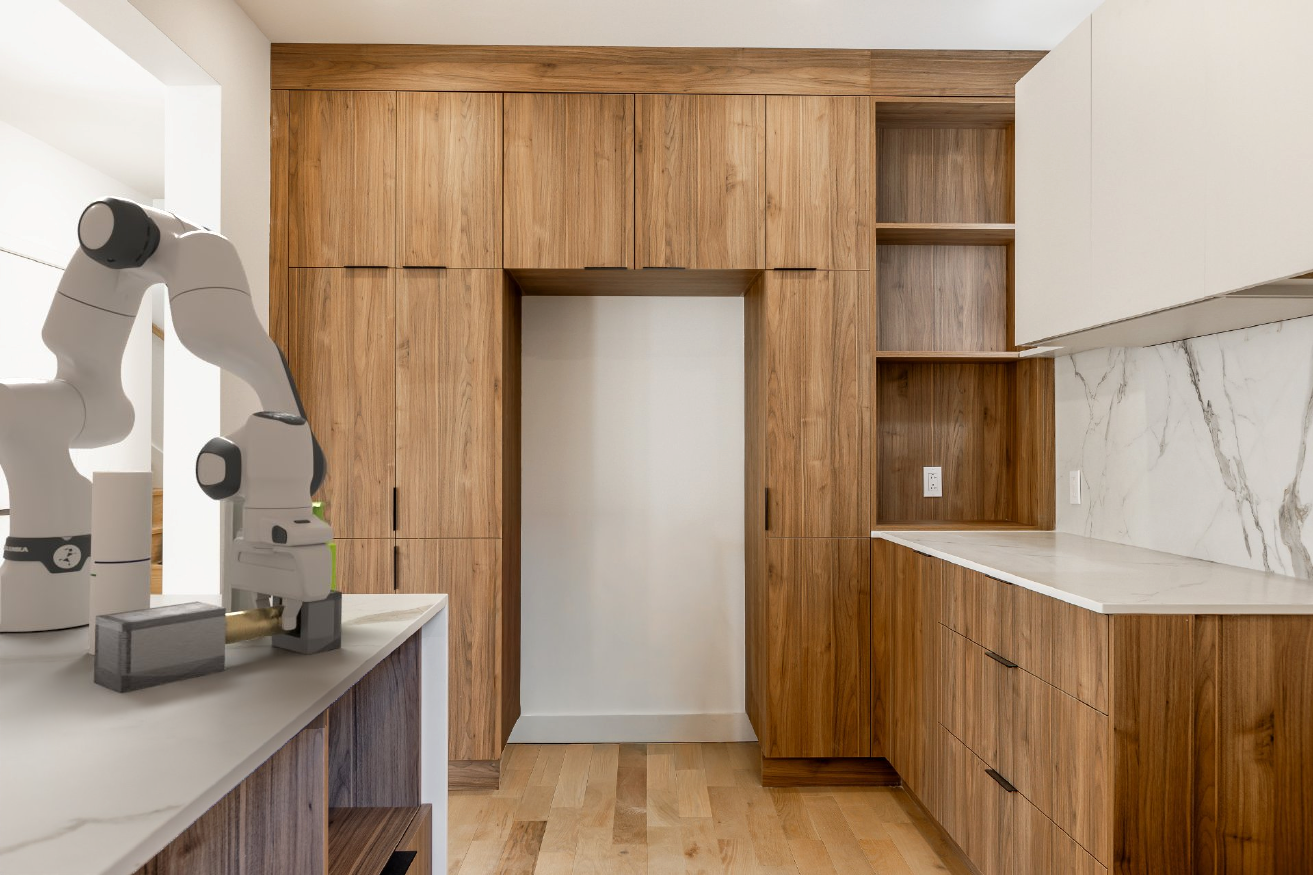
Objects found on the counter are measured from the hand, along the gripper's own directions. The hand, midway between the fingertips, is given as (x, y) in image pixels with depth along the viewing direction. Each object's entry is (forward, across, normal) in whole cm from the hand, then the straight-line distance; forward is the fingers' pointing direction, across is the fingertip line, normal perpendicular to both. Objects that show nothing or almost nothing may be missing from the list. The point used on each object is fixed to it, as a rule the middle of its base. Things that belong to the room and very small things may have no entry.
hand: (276, 626), depth 114 cm
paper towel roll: (+4, -17, +4) cm, 18 cm away
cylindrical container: (+4, -19, -12) cm, 23 cm away
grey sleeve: (+4, 0, -15) cm, 15 cm away
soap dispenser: (+4, -11, +13) cm, 17 cm away
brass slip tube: (+1, 0, -3) cm, 4 cm away
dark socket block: (+4, 0, +5) cm, 6 cm away
